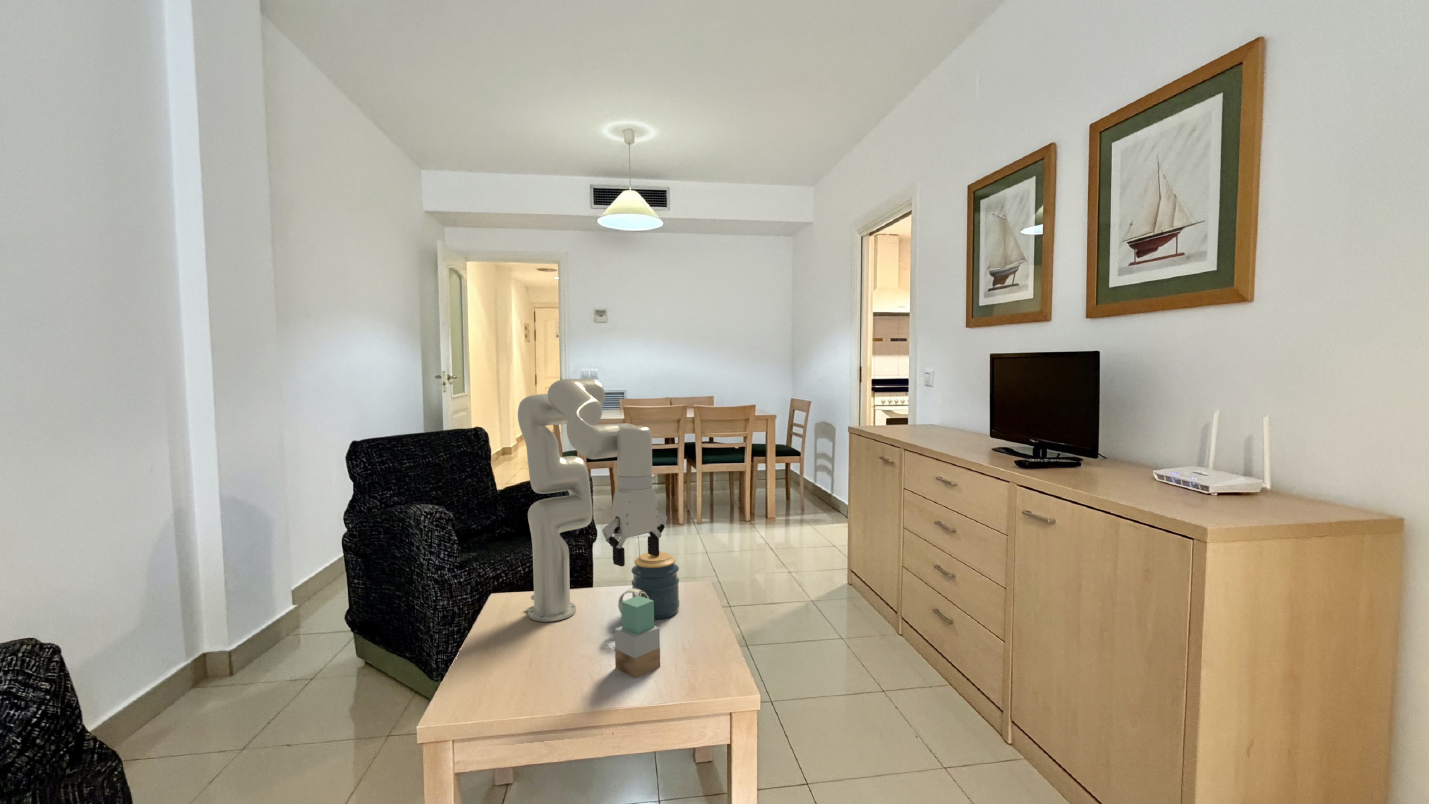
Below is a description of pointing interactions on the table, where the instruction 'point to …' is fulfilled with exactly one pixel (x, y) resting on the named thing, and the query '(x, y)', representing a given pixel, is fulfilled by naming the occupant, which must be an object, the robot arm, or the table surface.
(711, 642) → the table surface
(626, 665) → the base block
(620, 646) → the top block
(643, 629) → the stack block
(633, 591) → the watch
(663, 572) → the canister
